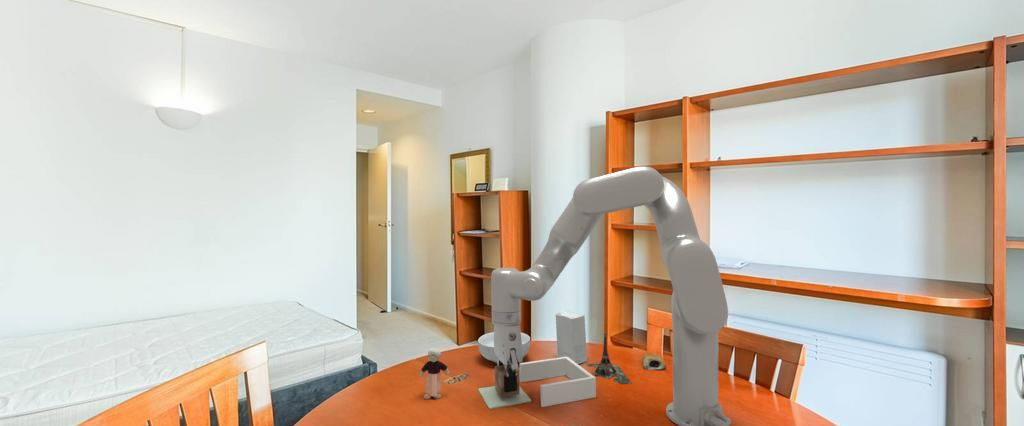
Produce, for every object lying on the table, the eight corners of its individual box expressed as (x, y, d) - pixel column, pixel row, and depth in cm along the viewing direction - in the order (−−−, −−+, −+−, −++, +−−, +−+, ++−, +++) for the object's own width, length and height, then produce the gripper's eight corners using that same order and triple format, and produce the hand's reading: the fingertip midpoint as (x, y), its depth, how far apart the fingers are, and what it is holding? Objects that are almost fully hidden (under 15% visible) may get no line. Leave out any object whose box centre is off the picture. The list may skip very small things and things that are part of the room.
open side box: (595, 397, 103) (595, 377, 103) (542, 407, 98) (542, 386, 98) (567, 373, 118) (567, 356, 118) (519, 381, 113) (519, 363, 113)
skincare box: (587, 362, 127) (586, 315, 126) (573, 366, 123) (572, 318, 123) (569, 354, 134) (569, 309, 133) (555, 358, 130) (555, 312, 130)
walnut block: (519, 394, 102) (519, 370, 102) (500, 397, 100) (500, 373, 100) (513, 386, 107) (512, 363, 106) (495, 389, 105) (494, 366, 105)
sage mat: (531, 401, 101) (531, 400, 101) (489, 409, 97) (489, 407, 97) (516, 383, 111) (516, 382, 111) (478, 390, 108) (478, 388, 108)
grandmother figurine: (420, 401, 101) (419, 351, 101) (419, 395, 105) (418, 346, 105) (450, 397, 103) (449, 348, 103) (448, 391, 107) (448, 344, 107)
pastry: (639, 358, 129) (639, 347, 129) (661, 360, 128) (661, 348, 128) (643, 370, 120) (643, 357, 120) (667, 372, 119) (667, 359, 119)
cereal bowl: (509, 347, 141) (509, 327, 141) (541, 361, 128) (540, 339, 128) (468, 358, 131) (468, 336, 131) (498, 374, 118) (497, 350, 118)
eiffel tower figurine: (632, 385, 110) (632, 337, 110) (596, 386, 110) (596, 338, 110) (616, 365, 125) (616, 322, 125) (584, 365, 125) (584, 323, 125)
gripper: (532, 323, 96) (532, 398, 96) (509, 307, 112) (510, 372, 113) (502, 326, 94) (503, 403, 94) (483, 310, 110) (484, 375, 110)
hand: (506, 385), depth 103 cm, fingers closed on walnut block, 5 cm apart
